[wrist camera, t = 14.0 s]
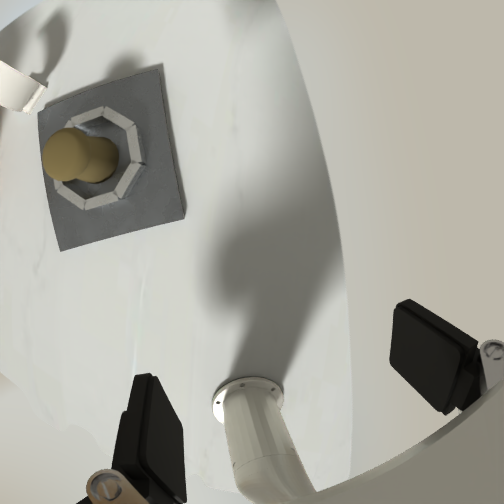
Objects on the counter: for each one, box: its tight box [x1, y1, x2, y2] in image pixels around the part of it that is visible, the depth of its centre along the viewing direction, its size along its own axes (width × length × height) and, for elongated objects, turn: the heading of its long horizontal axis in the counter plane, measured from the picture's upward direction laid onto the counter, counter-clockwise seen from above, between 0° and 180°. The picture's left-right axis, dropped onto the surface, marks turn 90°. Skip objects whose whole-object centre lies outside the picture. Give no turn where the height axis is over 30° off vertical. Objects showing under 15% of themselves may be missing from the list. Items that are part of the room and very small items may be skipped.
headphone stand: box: [0, 60, 47, 115], centre depth 20 cm, size 5×6×12 cm
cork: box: [42, 128, 119, 184], centre depth 24 cm, size 6×6×11 cm
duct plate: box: [38, 69, 185, 252], centre depth 29 cm, size 20×18×4 cm
